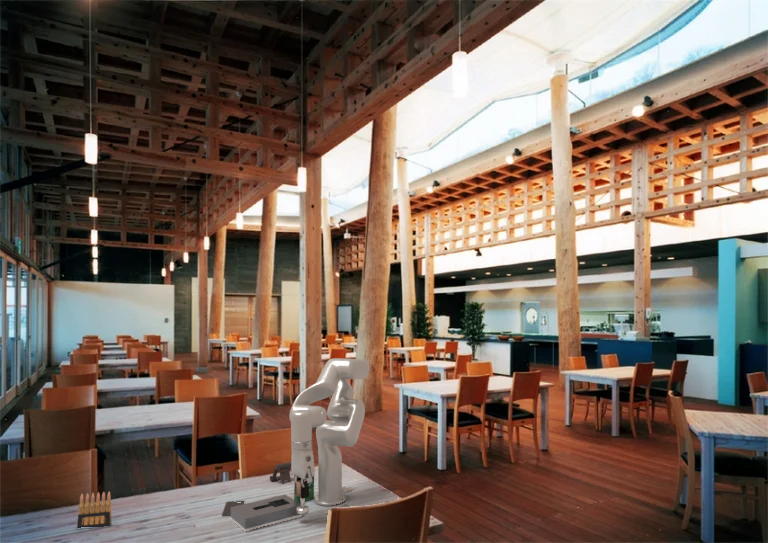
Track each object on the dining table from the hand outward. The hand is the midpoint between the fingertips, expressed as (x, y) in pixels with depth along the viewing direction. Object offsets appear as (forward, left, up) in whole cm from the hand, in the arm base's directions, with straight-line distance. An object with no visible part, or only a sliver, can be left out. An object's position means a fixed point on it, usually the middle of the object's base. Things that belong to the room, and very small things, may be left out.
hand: (302, 495), depth 188 cm
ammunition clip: (+61, -43, -10) cm, 75 cm away
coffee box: (-11, -19, -10) cm, 24 cm away
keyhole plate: (+9, -11, -9) cm, 17 cm away
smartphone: (+15, -29, -10) cm, 34 cm away
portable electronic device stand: (-15, -47, -10) cm, 51 cm away
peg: (0, 0, -6) cm, 6 cm away
